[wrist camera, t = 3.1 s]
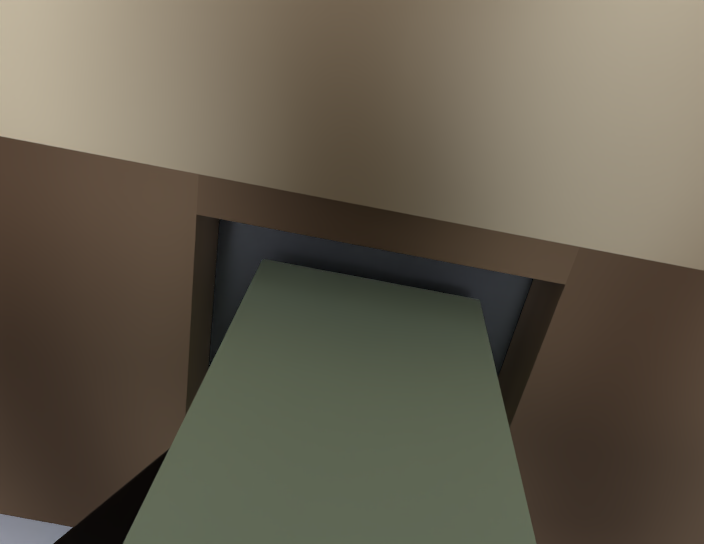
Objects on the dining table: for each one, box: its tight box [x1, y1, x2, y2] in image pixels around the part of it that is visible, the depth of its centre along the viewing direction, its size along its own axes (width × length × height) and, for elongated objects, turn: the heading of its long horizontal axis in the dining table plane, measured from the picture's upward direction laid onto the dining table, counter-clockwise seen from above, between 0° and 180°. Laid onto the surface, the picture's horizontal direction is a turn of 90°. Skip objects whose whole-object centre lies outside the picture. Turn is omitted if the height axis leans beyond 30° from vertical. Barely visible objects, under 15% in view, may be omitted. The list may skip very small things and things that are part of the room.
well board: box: [0, 136, 704, 544], centre depth 9 cm, size 16×19×2 cm
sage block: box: [123, 259, 536, 544], centre depth 8 cm, size 4×4×8 cm
